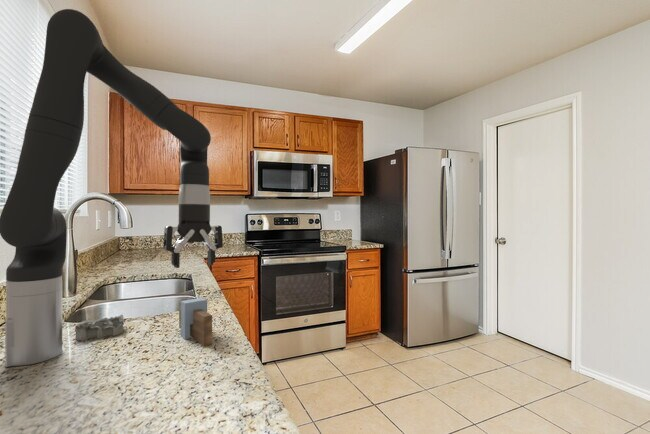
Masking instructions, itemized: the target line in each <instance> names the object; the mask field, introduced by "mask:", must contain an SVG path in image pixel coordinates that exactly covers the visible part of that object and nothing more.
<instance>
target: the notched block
mask: <svg viewBox="0 0 650 434" xmlns="http://www.w3.org/2000/svg"><path fill="white" fill-rule="evenodd" d="M180 302H181V328H180V337H181V338H182V339H184V340H189V339H190V338H191V336H190V324H193V311H194V310H200V309H202V310H204V311H206V312H207V313H208V299H207V298H204V297H198V298H192V299H186V300H181V301H180Z"/></svg>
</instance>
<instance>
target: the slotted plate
mask: <svg viewBox="0 0 650 434" xmlns="http://www.w3.org/2000/svg"><path fill="white" fill-rule="evenodd" d="M178 304H179V305H178V306H179V307H178V308H179V309H178V320H179V321H178V325H179V326H178V327H179V329H181V301H179V302H178ZM190 338H192V339H194V340H195V342H197V343H199V345H201V346H203V348H205V347H208V346H211V345H213V314H210V313H209V312H208V311H207V312H206V311H204V310H202V309H200V310H194V311H193V324H190Z"/></svg>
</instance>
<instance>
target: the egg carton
mask: <svg viewBox="0 0 650 434" xmlns="http://www.w3.org/2000/svg"><path fill="white" fill-rule="evenodd" d="M124 322H125V321H124V315H123V314H120V315H118V316H117V315H116V316H114V317H113V316H110V318H107V317H104V318H100V319H94V320H92V319H85V320H83V321H81V322H79V323H78V324H76V325H75V327H74V328H75V329H74V332H75V341H77V340H78V341H86V340H87V339H91V338H98V339H100V338H104V337H105V336H111V335H112V336H117V335H119V334H122V333H124Z"/></svg>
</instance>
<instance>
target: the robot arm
mask: <svg viewBox="0 0 650 434" xmlns="http://www.w3.org/2000/svg"><path fill="white" fill-rule="evenodd" d="M45 33H46V35H45V46H44V55H43V56H44V57H43V62H42V69H41V73H40V76H39V78H38V79H39V80H38V82H37V86H36V89H35V93H34V96H33V100H32V103H31V104H32V105H31V108H30V110H29V111H30V112H29V114H28V119H27V123H26V126H25V127H26V128H25V131H24V135H23V136H24V137H23V141H22V146H21V149H20V152H19V153H20V155H19V158H18V163H17V166H16V167H17V168H16V172H15V175H14V179H13V182H12V185H11V188H10V190H9V193H8V195H7V198H6V201H5V203H4V205H3V208H2V210H1V213H0V236H1V238H2V239H3V240H4V242H5V243H7V244H8V245H10V246H12V247H14V248H15V253H14V257H13V258H12V259H13V260H12V261H11V262H10V264H9V265H8V266H7V268H6V270H5V280H6V281H5V285H6V286H5V289H6V290H5V292H6V293H5V298H6V299H5V303H6V304H5V305H6V306H5V310H6V311H5V316H6V317H5V320H4V322H5V325H4V328H5V329H4V332H5V333H4V334H5V336H4V337H5V338H4V340H5V344H4V345H5V347H4V348H5V349H4V350H5V353H4V354H5V355H4V357H5V360H4V361H5V366H4V367H5V368H8V367H14V366H15V367H18V366H19V367H21V366H28V365H33V364H38V363H41V362H42V363H43V362H45V361H49V360H51V359H53V358H56V357H58V356H59V355H61V354H62V353H63V268H64V265H65V263H66V255H67V234H68V232H67V230H68V229H67V221H66V218H65V216H64V215H63V213H62V212H61V211H60V210H59V209H57V208H56V207H54V206H55V202H56V201H55V200H56V195H57V190H58V186H59V184H60V182H61V180H62V178H63V176H64V174H65V173H66V171H67V170H68V168H69V167H70V165H71V164H72V162H73V160H74V159H75V156H76V154H77V152H78V150H79V147H80V142H81V137H82V133H83V131H84V130H83V128H84V124H85V123H84V121H85V94H84V93H85V79H86V75H87V73H88V74H90V75H91V76H93V77H94V78H96V79H97V80H99V81H101V82H102V83H103V84H105V85H106V86H107V87H109V88H110V89H111V90H113V91H115V93H117V94H118V95H120V96H121V97H122V98H123V99H124V100H126V101H127V102H128V103H129V104H130V105H131V106H133V107H134V108H135V109H136V110H137V111H138V112H139V113H141V114H142V115H143V116H145V117H146V118H147V119H148V120H149V121H150V122H152V123H153V124H154V125H155V126H157V127H158V128H160V129H162V130H164V131H167V132H169V134H171V135H172V136H173V137H175V138H176V139H177V140H179V155H180V169H179V170H180V171H179V190H178V199H177V202H178V223H177V226H171V225H166V226H165V227H164V231H163V232H164V233H163V245H162V248H163V250H164V251H166V252H167V251H168V252H170V253H171V256H170V257H171V260H170V261H171V265H172V266H173V267H174V268H175V269H180V256H181V255H180V251H181V249H182V248H183V247H184V246H185V245H186V243H189V244H193V243H203V245H205V247H206V248H207V249H208V250H207V261H206V262H207V265H208V266H213V265H214V263H215V262H216V251H217V250H218V249H222V248H223V246H224V245H223V244H224V243H223V241H224V240H223V228H222V225H217V224H216V225H213V226H211V224H210V222H211V192H210V168H209V166H208V147H209V146H210V144H211V139H212V137H211V133H210V130H209V129H208V128H207V127H206V126H205V125H204V124H203V123H202V122H201V121H199V120H198V119H197V118H195V117H194V116H192V115H191V114H189V113H188V112H187V111H185V110H184V109H183V110H182V109H181V108H180V107H179V106H178V105H177V104H176V103H174V102H173V100H171V99H170V98H169V97H168V96H166V95H165V94H164V93H163V92H162V91H161V90H159V89H158V88H157V87H155V86H154V85H153V84H151V83H150V82H148V81H147V80H145V79H144V78H142V77H140V76H138V75H137V74H136V73H134V72H132V71H131V70H130V69H129V68H127V67H126V66H124V65H123V64H122V63H121V62H120V61H119V60H118V59H117V58H116V57H115V56H114V55H113V54H112V53H111V51H109V49H108V48H107V47H106V46H105V45H104V43H103V40H102V38H101V34H100V33H99V30H98V29H97V27H96V24H94V22H93V21H92V20H91V19H90V18H89V17H88V16H87V15H86V14H84V13H83V12H82V11H79V10H76V9H73V8H65V9H60V10H58V11H57V12H55V13H54V14H52V16H51V17H50V19H49V20H48V23H47V25H46V32H45ZM175 233H178V235H179V237H177V240H176V241H175V243H174V244H173V243H172V242H173V236H174V235H175ZM210 233H212V234H214V235H213V237H214V238H213V239H214V242H213V241H212V239H211V238H210V236H209V234H210ZM172 244H173V245H172Z"/></svg>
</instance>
